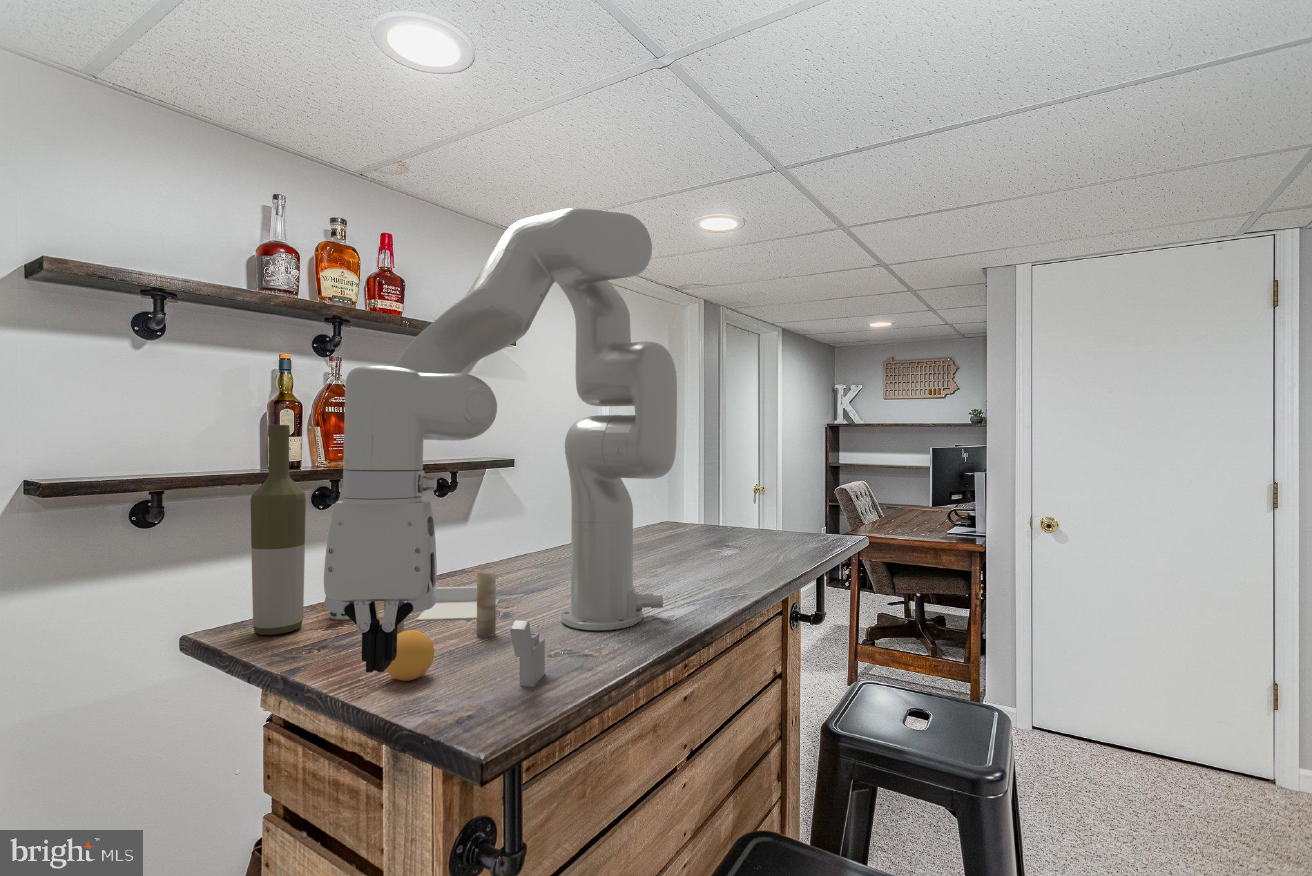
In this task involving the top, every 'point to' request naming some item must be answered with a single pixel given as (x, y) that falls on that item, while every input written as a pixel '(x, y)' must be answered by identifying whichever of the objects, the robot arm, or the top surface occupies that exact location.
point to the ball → (411, 655)
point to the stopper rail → (456, 594)
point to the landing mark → (451, 611)
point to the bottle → (278, 543)
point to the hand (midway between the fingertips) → (379, 667)
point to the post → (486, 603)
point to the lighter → (528, 653)
